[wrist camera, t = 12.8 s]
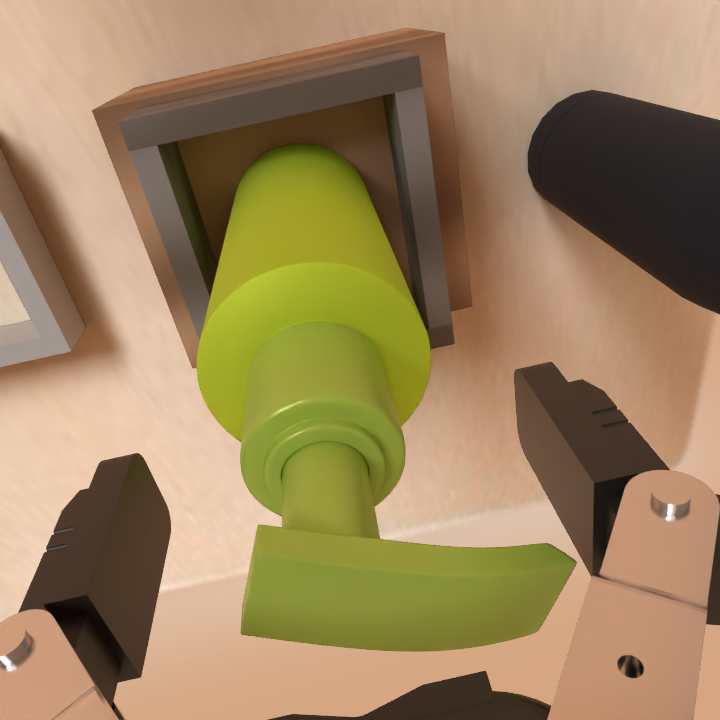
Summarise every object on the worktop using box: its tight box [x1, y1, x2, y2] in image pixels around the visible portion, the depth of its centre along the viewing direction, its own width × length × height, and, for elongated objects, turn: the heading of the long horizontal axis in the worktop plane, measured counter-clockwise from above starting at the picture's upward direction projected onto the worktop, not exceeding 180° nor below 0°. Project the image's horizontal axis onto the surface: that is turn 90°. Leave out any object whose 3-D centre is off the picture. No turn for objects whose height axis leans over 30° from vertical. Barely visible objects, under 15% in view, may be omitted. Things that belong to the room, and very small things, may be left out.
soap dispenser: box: [197, 144, 577, 651], centre depth 18 cm, size 6×7×20 cm
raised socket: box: [92, 28, 472, 368], centre depth 28 cm, size 12×14×12 cm
